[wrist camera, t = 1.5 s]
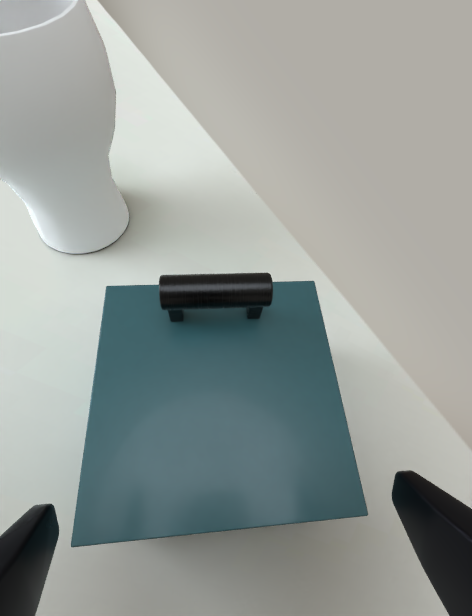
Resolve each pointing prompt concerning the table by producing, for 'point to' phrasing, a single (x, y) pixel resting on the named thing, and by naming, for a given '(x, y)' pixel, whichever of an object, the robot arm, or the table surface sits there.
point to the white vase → (59, 123)
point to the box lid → (213, 412)
